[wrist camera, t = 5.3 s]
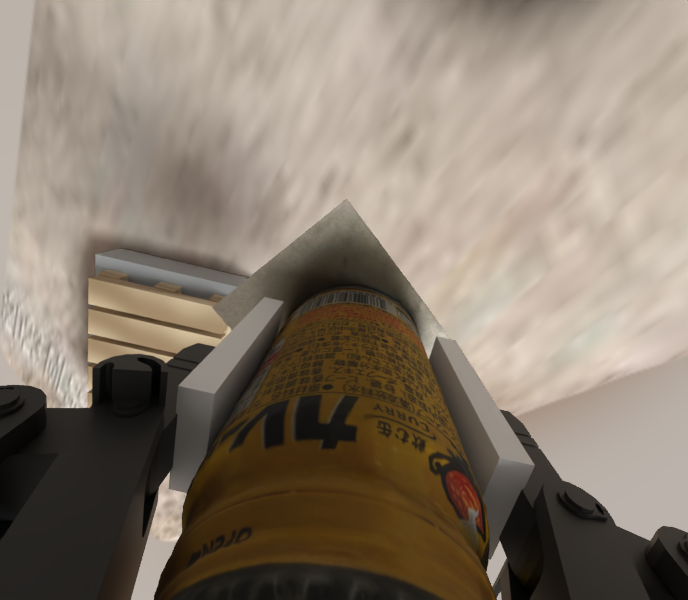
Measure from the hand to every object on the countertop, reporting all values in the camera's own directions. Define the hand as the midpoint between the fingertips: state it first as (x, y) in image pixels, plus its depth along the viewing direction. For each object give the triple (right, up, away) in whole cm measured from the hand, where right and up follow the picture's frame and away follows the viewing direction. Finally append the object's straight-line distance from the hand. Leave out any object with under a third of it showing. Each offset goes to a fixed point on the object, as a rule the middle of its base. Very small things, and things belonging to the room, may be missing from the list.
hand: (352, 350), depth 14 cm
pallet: (-15, -2, +15) cm, 21 cm away
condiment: (0, +1, +2) cm, 2 cm away
